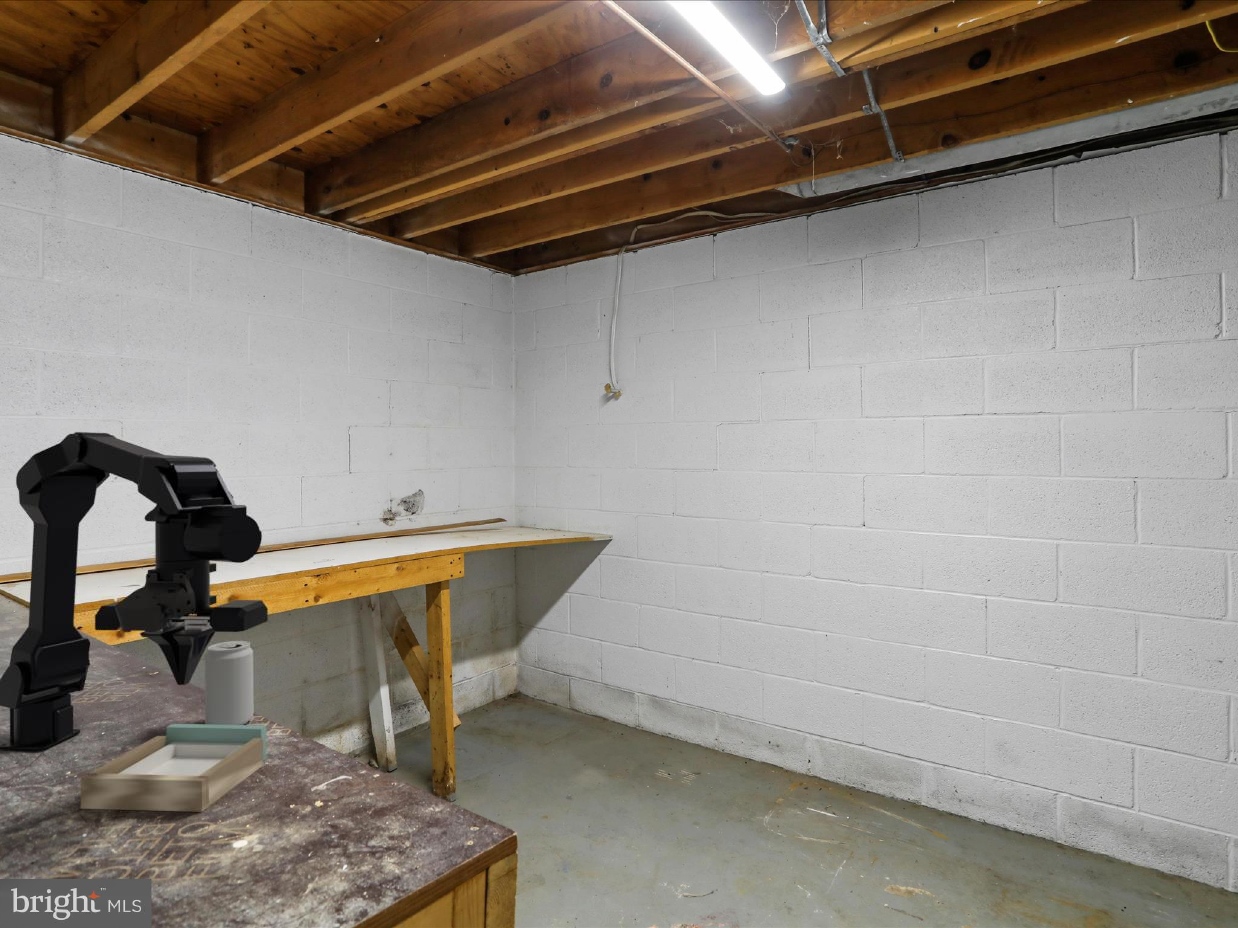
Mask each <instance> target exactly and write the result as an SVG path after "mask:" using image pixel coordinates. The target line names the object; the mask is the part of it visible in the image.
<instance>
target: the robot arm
mask: <svg viewBox="0 0 1238 928" xmlns="http://www.w3.org/2000/svg"><path fill="white" fill-rule="evenodd" d="M216 467H217V465H216V463H215V462H214V461H213V460H212V459H211V458H208V457H204V456H202V457H201V456H193V455H192V456H188V455H186V456H185V455H173V454H172V455H171V454H169V455H168V454H164V453H160V452H157V451H154V450H151V449H148V448H146V447H142V446H139V445H137V444H134V443H131V442H129V441H126V440H123V439H120V438H117V437H116V436H115V435H113V434H110V433H107V432H88V431H87V432H86V431H85V432H84V431H74V432H73V433H69V434H67V435H66V436H65V437H64V438H63V439H62V440H61V441H60V442H59V443H57V444H54V445H52V446H50V447H47V448H45V449H43V450H41V451H38V452H36V453H34V454H33V455H32V456H31V457H30V458H29V459H28V460H27V461H26V462H25V463H24V464H23V465H22V466H21V467H20V469H19V470H18V471H17V473H16V477H15V481H16V482H15V484H16V488H17V491H18V499H19V500H18V501H19V503H18V504H20V507H21V508H22V509H23V510H24V512H25V514H26V515H27V516H28V517H29V518H30V519H31V521H32V524H33V530H32V532H33V533H32V553H31V571H30V572H31V573H30V574H31V575H30V588H29V589H30V590H29V591H30V593H29V594H30V595H29V610H28V611H29V614H28V625H27V628H26V629H25V630H24V632H23V633H22V635H21V636H19V637H20V638H19V639H18V640H17V641H16V642H15V644H14V645H13V647H12V649H11V653H10V659H9V660H10V661H9V666H8V667H7V668H6V670H5V671H4V672H3V674H2V676H1V677H0V707H4V708H8V709H9V741H7V742H3V743H2V744H0V750H4V751H5V750H12V751H15V750H17V751H42V750H46V749H48V748H51V747H53V746H56V745H57V744H59V743H61V742H64V741H65V740H68V739H70V738H73V737H74V736H76V735H78V734H80V733H81V729H80V728H74V705H73V704H72V693H76V692H82V691H84V689H85V688H84V687H85V684H86V680H87V675H88V671H89V668H90V667H89V666H91V661H90V646H91V641H90V640H89V639H90V638H88V637H84V636H83V635H82V634H81V633H80V631H79V629H77V627H76V626H75V609H76V608H75V606H76V591H77V590H76V589H77V588H76V587H77V571H78V569H77V567H78V565H77V564H78V551H79V548H78V547H79V534H80V533H79V532H80V531H79V529H80V528H79V527H80V523H81V522H82V521H83V519H84V518H85V517H86V515H87V514H89V512H90V510H91V509H92V508H93V507H94V505H95V501H96V495H97V489H98V488H99V487H100V486H101V485H102V484H103V483H104V482H105V481H106V480H107V479H108V478H109V477H110V476H111V474H112V476H113V475H114V476H116V477H119V478H122V479H123V480H126V481H129V482H132V483H134V484H135V485H136V486H137V493H139V494H140V495H142V496H143V497H145V499H147V500H149V501H150V502H152V503H153V504H155V507H154V508H153V509H151V510H150V511H149V512H147V513H146V514H145V516H144V521H145V522H154V531H155V532H154V541H155V542H154V544H155V545H154V546H155V547H154V549H155V550H154V551H155V552H154V553H155V554H154V559H155V561H154V563H155V567H154V568H151V569H147V573H146V575H145V584H144V585H143V586H142V587H140V588H137V589H136V590H134V591H132V592H131V593H129V594H128V595H127V596H126V597H125V598H122V600H120V601H115V602H111V603H107V604H103V605H101V606H100V607H99V609H98V611H96V614H95V615H94V630H95V631H118V630H121V631H122V632H125V633H131V632H133V631H135V632H136V631H137V632H140V631H142V632H140V633H139V635H140V636H141V637H142V638H147V639H149V640H151V641H152V642H154V643H156V644H157V646H159V649H160V650H161V652H162V653H163V655H164V658H165V659H166V662H167V665H168V666H169V668H170V671H171V673H172V675H173V677H174V679H175V682H176V684H177V685H178V686H185V685H187V684H190V682H191V680H192V678H193V675H194V674H195V671H196V670H197V667H198V665H199V663H200V661H201V658H202V657H203V654H204V652H205V651H206V649H207V648H208V646H209V644H210V642H211V640H212V639H213V638H214V635H215V633H220V632H222V633H238V632H239V633H240V632H244V631H246V630H249V629H252V628H255V627H257V626H259V625H262V624H264V623H267V622H269V620H268V610H269V609H268V607H267V606H266V604H265V602H264V601H263V600H261V599H257V600H256V599H235V600H232V601H229V602H225V603H224V604H220V605H218V606H212V605H216V604H217V595H215V594H213V595H211V594H210V593H211V592H210V591H211V580H210V579H211V573H214V572H217V563H216V562H223V563H236V564H242V563H245V562H248V561H249V560H251V559H252V558H254V556H255V555H256V554H257V553H258V551H259V549H260V547H261V544H262V539H263V535H262V530H261V529H260V526H259V524H258V523H257V521H256V520H255V519H254V518H253V517H251V516H250V515H248V513H247V512H248V511H247V509H248V508H247V505H246V504H236V502H235V500H234V498H235V497H234V496H233V494H232V493H231V492H230V491H229V488H228V486H227V485H226V483H225V481H224V479H223V477H222V476H221V473H220V471H219V470H218V469H217V468H216ZM214 562H215V563H214Z"/></svg>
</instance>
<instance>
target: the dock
mask: <svg viewBox="0 0 1238 928" xmlns="http://www.w3.org/2000/svg"><path fill="white" fill-rule="evenodd" d="M165 746H166V735H156V736H155V737H152V738H151V739H149V740H148V741H146V742H143V743H142V744H140V745H138V746H137V747H136V746H135V748H133V749H131V750H129V751H127V752H125V753H123V754H122V755H120V756H118V757H117V758H115V759H113V760H111V761H109V762H107V763H106V764H104V765H102V766H100V767H98V768H96V769H94V770H92V771H91V772H89V773H87V774H85V775H83V776H82V777H80V809H82V810H83V809H84V810H87V809H88V810H118V811H119V810H121V811H122V810H123V811H124V810H125V811H126V810H127V811H156V812H157V811H159V812H165V811H166V812H190V813H191V812H193V813H195V812H196V813H197V812H198V813H203V812H204V811H205V810H207V809H208V808H209V807H211V806H212V805H213V804H214V803H215V802H217V801H219V799H222V797H224V796H225V795H227V794H228V793H229V792H230V791H231V790H233V789H234V788H235V787H237V786H238V785H239V784H241V783H242V782H244V780H246V779H247V778H248V777H249V776H251V775H252V774H253V773H255V772H256V771H257V770H259V769H260V768H261V767H263V766H264V761H263V738H254V739H252V740H251V741H249V742H248V743H246V744H245V745H243V746H242V747H240V748H239V749H237V750H236V751H235V752H233V753H232V754H230V755H229V756H227V757H226V758H224V759H223V760H221V761H220V762H218V763H217V764H215V765H214V766H213V767H211V768H210V769H208V770H207V771H205V772H204V773H202V774H201V775H199V776H183V775H140V774H118V773H120V772H122V771H124V770H125V769H127V768H129V767H130V766H132V765H134V764H136V763H137V762H139V761H141V760H143V759H144V758H146V757H148V756H150V755H151V754H153V753H155V752H156V751H158V750H160V749H162V748H163V747H165Z"/></svg>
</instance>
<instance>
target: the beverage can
mask: <svg viewBox="0 0 1238 928" xmlns="http://www.w3.org/2000/svg"><path fill="white" fill-rule="evenodd" d="M254 710H255V708H254V650H253V649H252V648H251V642H250V641H247V640H231V641H224V642H223V641H222V642H218V643H215V644H214V643H213V644H212V645H210V646H209V645H208V646H207V653H206V654H205V656H204V717H205V718H204V721H205V722H204V724H208V725H244V724H246V723H247V722H248V721H249V722H250V720H252V719H253V717H254V715H255V713H254V712H255V711H254ZM249 712H250V713H249ZM253 714H254V715H253ZM249 722H248V723H249ZM248 723H247V724H248ZM247 724H246V725H247Z"/></svg>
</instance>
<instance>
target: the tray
mask: <svg viewBox="0 0 1238 928" xmlns="http://www.w3.org/2000/svg"><path fill="white" fill-rule="evenodd" d="M165 728H166V729H165V734H166V735H165V736H166V746H165V747H163V748H162V749H160V750H158V751H156V752H155V753H153V754H151V755H150V756H148V757H146V758H144V759H143V760H141V761H139V762H137V763H136V764H134V765H132V766H130V767H129V768H127V769H125V770H124V771H122V772H120V773H118V774H140V775H183V776H199V775H201V774H202V773H204V772H205V771H207V770H208V769H210V768H211V767H213V766H214V765H215V764H217V763H218V762H220V761H221V760H223V759H224V758H226V757H227V756H229V755H230V754H232V753H233V752H235V751H236V750H237V749H239V748H240V747H242V746H243V745H245V744H246V743H248V742H249V741H251V740H252V739H254V738H263V762H264V761H265V760H266V759H267V725H261V724H260V725H254V724H253V725H252V724H251V725H250V724H246V725H208V724H205V723H204V724H202V723H200V724H198V723H195V724H193V723H171V724H170V725H168V726H165Z"/></svg>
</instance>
